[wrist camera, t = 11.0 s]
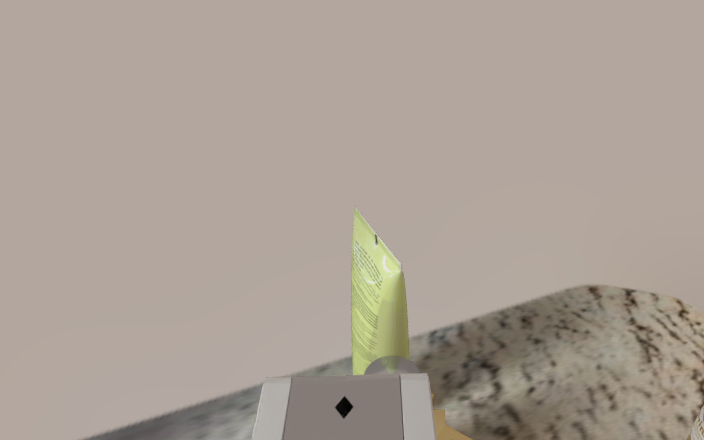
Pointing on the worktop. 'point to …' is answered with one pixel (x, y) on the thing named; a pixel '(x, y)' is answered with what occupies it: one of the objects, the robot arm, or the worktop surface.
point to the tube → (376, 299)
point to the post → (391, 366)
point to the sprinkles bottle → (698, 427)
